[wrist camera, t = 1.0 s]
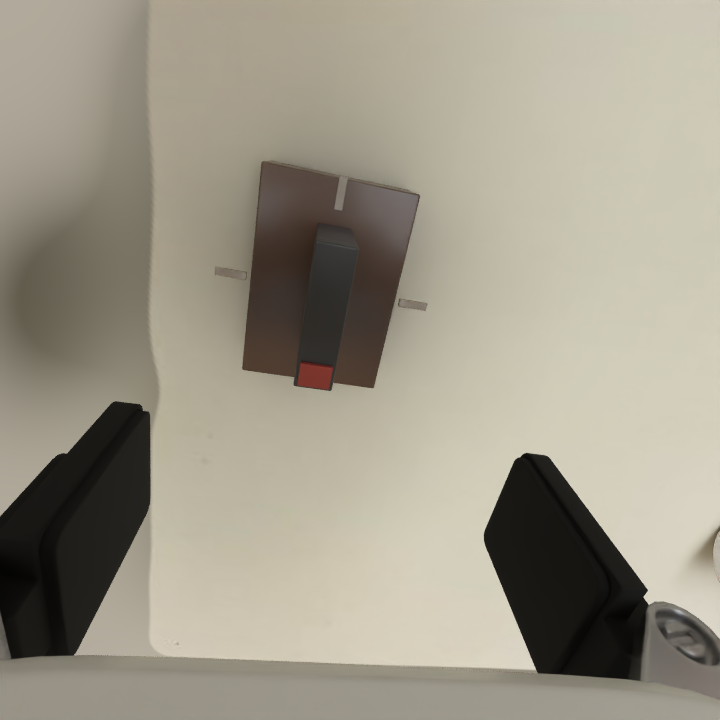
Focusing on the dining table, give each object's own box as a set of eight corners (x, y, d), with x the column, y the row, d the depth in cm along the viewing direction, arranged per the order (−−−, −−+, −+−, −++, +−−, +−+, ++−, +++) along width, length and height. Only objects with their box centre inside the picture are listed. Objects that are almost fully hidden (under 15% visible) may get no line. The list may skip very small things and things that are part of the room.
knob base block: (236, 150, 20) (221, 150, 18) (439, 194, 22) (456, 200, 19) (222, 344, 25) (209, 368, 22) (393, 369, 26) (402, 396, 23)
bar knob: (317, 222, 19) (315, 241, 15) (352, 229, 19) (360, 249, 15) (299, 343, 22) (292, 389, 17) (330, 348, 22) (331, 394, 18)
